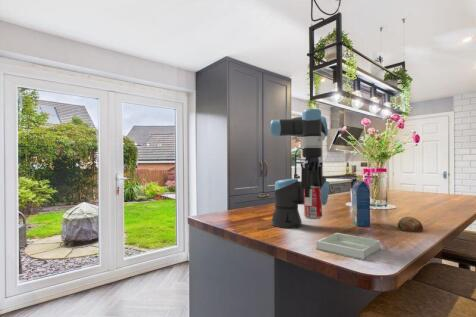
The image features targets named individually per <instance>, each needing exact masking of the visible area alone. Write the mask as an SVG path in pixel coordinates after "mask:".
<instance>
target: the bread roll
mask: <svg viewBox="0 0 476 317" xmlns="http://www.w3.org/2000/svg"><path fill="white" fill-rule="evenodd" d="M397 230H399V231H403V232H407V233H413V232H414V233H415V234H417V233H422V232H423V230H424V226H423V224H422V222H421V221H420V220H419V219H417V218H415V217H412V216H405V217H402V218H401V219H399V221H398V223H397ZM416 232H417V233H416Z"/></svg>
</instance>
